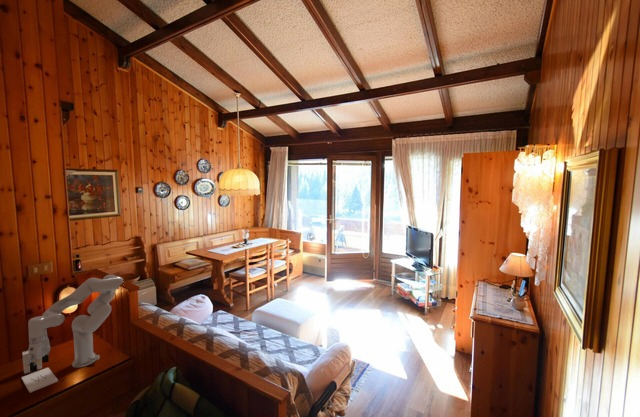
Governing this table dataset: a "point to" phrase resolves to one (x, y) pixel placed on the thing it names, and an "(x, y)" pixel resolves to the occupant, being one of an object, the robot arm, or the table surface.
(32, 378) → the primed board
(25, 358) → the supplement box
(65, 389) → the table surface
